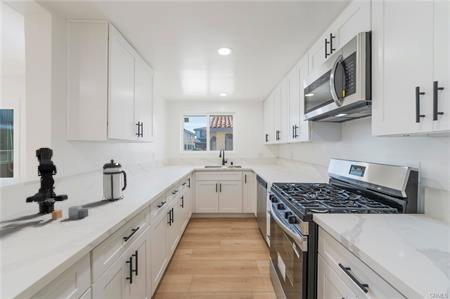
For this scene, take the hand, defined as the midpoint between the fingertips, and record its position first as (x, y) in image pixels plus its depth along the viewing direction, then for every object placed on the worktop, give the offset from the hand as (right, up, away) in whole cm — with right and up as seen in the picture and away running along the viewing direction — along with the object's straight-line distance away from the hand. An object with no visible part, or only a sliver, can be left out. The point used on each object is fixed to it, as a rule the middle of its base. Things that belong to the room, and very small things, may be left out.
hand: (47, 214), depth 130 cm
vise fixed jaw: (+18, -2, +2) cm, 19 cm away
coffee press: (+14, -2, +48) cm, 50 cm away
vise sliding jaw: (+5, -2, 0) cm, 5 cm away
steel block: (+14, -2, +1) cm, 15 cm away
